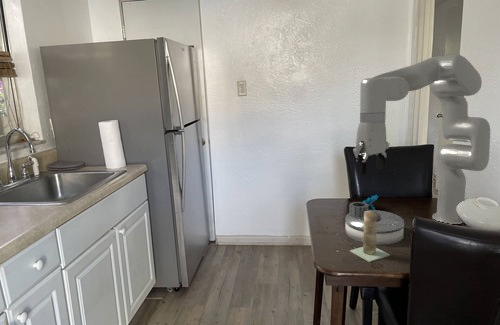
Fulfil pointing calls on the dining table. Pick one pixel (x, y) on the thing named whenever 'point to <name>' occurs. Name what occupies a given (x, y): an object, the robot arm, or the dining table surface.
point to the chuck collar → (384, 219)
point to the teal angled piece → (371, 201)
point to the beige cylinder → (370, 232)
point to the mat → (370, 258)
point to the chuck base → (380, 237)
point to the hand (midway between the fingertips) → (371, 171)
